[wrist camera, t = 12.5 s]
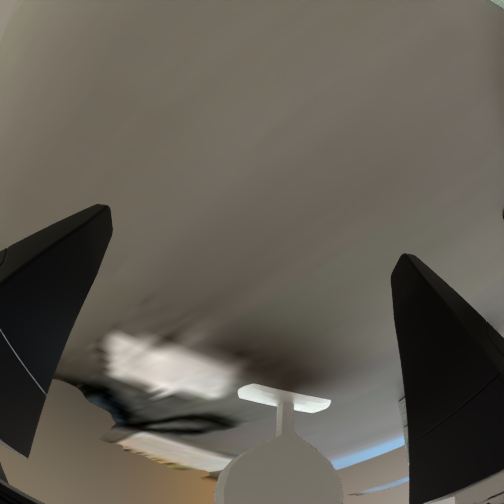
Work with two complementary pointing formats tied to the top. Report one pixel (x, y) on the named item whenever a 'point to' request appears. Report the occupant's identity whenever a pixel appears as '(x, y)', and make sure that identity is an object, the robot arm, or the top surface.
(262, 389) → the heart sculpture
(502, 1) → the sage board
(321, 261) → the top surface
